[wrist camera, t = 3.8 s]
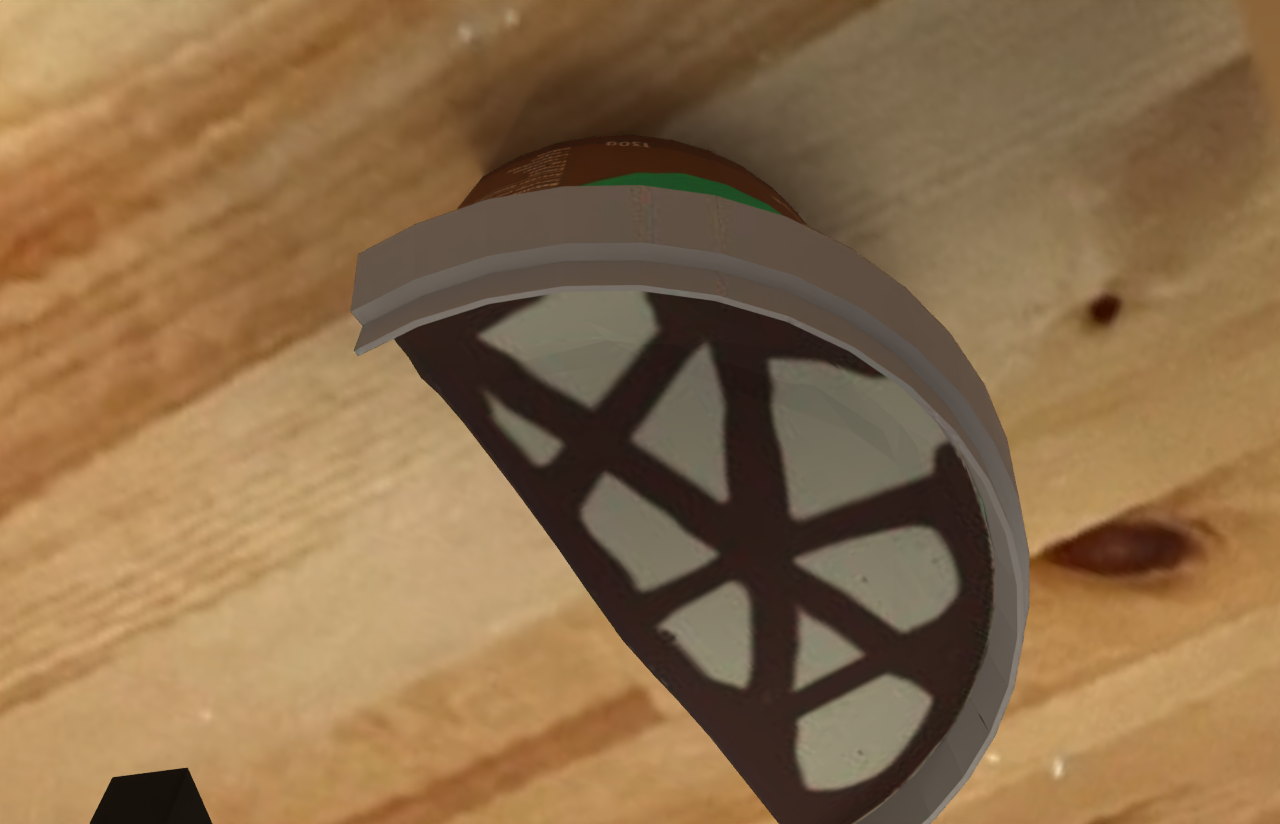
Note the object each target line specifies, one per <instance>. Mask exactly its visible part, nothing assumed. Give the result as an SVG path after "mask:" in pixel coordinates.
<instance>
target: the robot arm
mask: <svg viewBox="0 0 1280 824" xmlns="http://www.w3.org/2000/svg"><path fill="white" fill-rule="evenodd" d="M90 824H212V822H211V820H210V817H209V815H208V813H207V811H206V808H205V806H204V804H203V801H202V799H201V797H200V795H199V792H198V790H197V788H196V785H195V783H194V781H193V779H192V776H191V774H190V772H189V770H188V768H181V769H174V770H166V771H158V772H150V773H143V774H135V775H127V776H120V777H113V778H112V780H111V782H110V784H109V786H108V788H107V790H106V792H105V794H104V796H103V798H102V800H101V802H100V804H99V806H98V808H97V810H96V812H95V814H94V816H93V818H92V820H91V822H90Z"/></svg>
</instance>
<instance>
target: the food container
mask: <svg viewBox="0 0 1280 824" xmlns="http://www.w3.org/2000/svg"><path fill="white" fill-rule="evenodd" d="M351 313H352V314H353V315H354V316H355V318H356V319H357V320H358V321H359V322H360V323H361V325H362V329H361V332H360V335H359V338H358V341H357V343H356V346H355V349H354V352H355V353H356V354H357V355H358V356H359V355H362V354H364V353H366V352H368V351H370V350H372V349H374V348H376V347H378V346H380V345H382V344H384V343H386V342H388V341H390V340H392V339H395V341H396V342H397V344H398V345H399V346H400V347H401V349H402V350H403V351H404V352H405V353H406V355H407V356H408V357H409V359H410V360H411V362H412V364H413V365H414V367H415V369H416V370H417V372H418V374H419V375H420V377H421V378H422V379H423V380H424V381H425V382H426V383H427V384H428V385H430V386H431V387H432V388H433V389H434V390H435V391H436V392H437V393H438V394H439V395H440V396H441V397H442V398H443V399H444V400H445V402H446V403H447V404H448V405H449V406H450V407H451V409H452V410H453V411H454V412H455V413H456V414H457V416H458V417H459V418H460V419H461V420H462V421H463V423H464V424H465V425H466V426H467V428H468V429H469V430H470V432H471V433H472V434H473V436H474V437H475V438H476V439H477V441H478V442H479V443H480V445H481V446H482V447H483V449H484V450H485V451H486V452H487V454H488V455H489V456H490V458H491V459H492V460H493V462H494V463H495V464H496V465H497V467H498V468H499V469H500V471H501V472H502V473H503V475H504V476H505V477H506V478H507V480H508V481H509V482H510V484H511V485H512V486H513V488H514V489H515V490H516V492H517V493H518V494H519V496H520V497H521V498H522V500H523V501H524V503H525V504H526V505H527V507H528V508H529V509H530V511H531V512H532V513H533V515H534V516H535V518H536V519H537V520H538V522H539V523H540V524H541V526H542V527H543V528H544V530H545V531H546V532H547V534H548V535H549V537H550V538H551V539H552V541H553V542H554V543H555V545H556V546H557V548H558V549H559V550H560V552H561V553H562V555H563V556H564V558H565V559H566V561H567V562H568V564H569V565H570V566H571V568H572V569H573V571H574V572H575V574H576V575H577V577H578V578H579V580H580V581H581V582H582V584H583V585H584V587H585V588H586V590H587V591H588V592H589V594H590V595H591V597H592V598H593V599H594V601H595V602H596V604H597V605H598V606H599V608H600V609H601V611H602V612H603V613H604V615H605V616H606V618H607V619H608V620H609V622H610V623H611V625H612V626H613V627H614V629H615V630H616V632H617V633H618V634H619V636H620V637H621V639H622V640H623V641H624V642H625V643H626V645H627V646H628V647H629V648H630V649H631V650H632V651H633V652H634V654H635V655H636V656H637V657H638V658H639V659H640V660H641V661H642V662H643V664H644V665H645V666H646V667H647V668H648V669H649V670H650V671H651V673H652V674H653V675H654V676H655V677H656V678H657V679H658V680H659V681H660V682H661V683H662V684H663V685H664V686H665V687H666V688H667V689H668V691H669V692H670V693H671V694H672V695H673V696H674V697H675V698H676V699H677V700H678V701H679V702H680V703H681V705H682V706H683V707H684V708H685V709H686V710H687V711H688V713H689V714H690V715H691V716H692V717H693V718H694V719H695V720H696V722H697V723H698V724H699V725H700V726H701V727H702V728H703V730H704V731H705V732H706V733H707V734H708V735H709V736H710V737H711V739H712V740H713V741H714V742H715V744H716V745H717V746H718V747H719V749H720V750H721V751H722V753H723V754H724V755H725V756H726V758H727V759H728V760H729V761H730V763H731V764H732V765H733V766H734V768H735V769H736V770H737V771H738V773H739V774H740V775H741V776H742V778H743V779H744V780H745V781H746V783H747V784H748V785H749V786H750V788H751V789H752V790H753V792H754V793H755V794H756V795H757V797H758V798H759V799H760V800H761V802H762V803H763V804H764V805H765V807H766V808H767V809H768V810H769V812H770V813H771V814H772V815H773V817H774V818H775V819H776V821H777V822H778V823H779V824H930V823H931V822H933V821H934V820H935V819H936V818H937V816H938V815H939V814H940V813H941V812H942V810H943V809H944V808H945V807H946V806H947V805H948V803H949V802H950V801H951V800H952V799H953V798H954V796H955V795H956V794H957V793H958V792H959V790H960V789H961V788H962V787H963V786H964V785H965V783H966V782H967V781H968V780H969V778H970V777H971V775H972V773H973V772H974V770H975V768H976V767H977V765H978V764H979V762H980V760H981V759H982V757H983V755H984V754H985V752H986V750H987V749H988V747H989V745H990V744H991V742H992V741H993V739H994V737H995V735H996V733H997V730H998V728H999V725H1000V723H1001V720H1002V718H1003V715H1004V713H1005V710H1006V707H1007V705H1008V702H1009V700H1010V697H1011V695H1012V692H1013V690H1014V686H1015V681H1016V676H1017V670H1018V665H1019V660H1020V655H1021V650H1022V644H1023V639H1024V630H1025V625H1026V620H1027V615H1028V610H1029V549H1028V544H1027V538H1026V533H1025V528H1024V522H1023V517H1022V512H1021V506H1020V501H1019V496H1018V490H1017V485H1016V481H1015V476H1014V471H1013V466H1012V461H1011V456H1010V451H1009V446H1008V441H1007V437H1006V435H1005V432H1004V430H1003V428H1002V425H1001V423H1000V420H999V418H998V416H997V413H996V411H995V408H994V406H993V404H992V401H991V399H990V396H989V394H988V392H987V389H986V387H985V385H984V383H983V382H982V380H981V379H980V377H979V376H978V374H977V373H976V371H975V370H974V368H973V367H972V365H971V363H970V362H969V360H968V359H967V357H966V356H965V354H964V353H963V351H962V350H961V348H960V347H959V345H958V344H957V342H956V341H955V339H954V338H953V336H952V335H951V334H950V333H949V332H948V330H947V329H946V328H945V327H944V326H943V325H942V324H941V323H940V322H939V321H938V320H937V319H936V318H935V317H934V316H933V315H932V314H931V313H930V312H929V311H928V310H927V309H926V308H925V307H924V306H923V305H922V304H921V303H920V302H919V301H918V300H917V299H916V298H915V297H914V296H913V295H912V293H911V292H910V291H909V290H908V289H907V288H906V287H904V286H903V285H901V284H900V283H899V282H897V281H896V280H894V279H893V278H892V277H890V276H889V275H887V274H886V273H885V272H883V271H882V270H881V269H879V268H878V267H876V266H875V265H874V264H872V263H871V262H869V261H868V260H867V259H865V258H864V257H862V256H861V255H860V254H858V253H857V252H855V251H854V250H853V249H851V248H849V247H847V246H845V245H843V244H841V243H839V242H837V241H835V240H833V239H831V238H829V237H827V236H825V235H823V234H821V233H819V232H817V231H815V230H813V229H811V228H808V226H807V225H806V224H805V222H804V221H803V220H802V219H801V217H800V216H799V215H798V213H797V212H796V211H795V210H794V209H793V208H792V207H791V206H790V205H789V204H788V203H787V202H786V201H785V200H784V199H783V198H782V197H781V196H780V195H779V194H778V193H777V192H776V191H775V190H774V189H773V188H772V187H770V186H769V185H768V184H766V183H765V182H763V181H762V180H760V179H759V178H758V177H756V176H755V175H753V174H752V173H750V172H749V171H748V170H746V169H745V168H743V167H742V166H740V165H738V164H735V163H733V162H731V161H729V160H727V159H725V158H723V157H721V156H719V155H717V154H714V153H712V152H710V151H708V150H704V149H701V148H697V147H694V146H691V145H687V144H684V143H680V142H677V141H673V140H666V139H659V138H651V137H643V136H635V135H632V136H598V137H590V138H585V139H579V140H574V141H568V142H563V143H557V144H554V145H551V146H548V147H546V148H543V149H540V150H537V151H534V152H531V153H528V154H525V155H523V156H520V157H518V158H516V159H514V160H512V161H510V162H509V163H507V164H505V165H503V166H501V167H499V168H497V169H496V170H494V171H492V172H490V173H488V174H486V175H484V176H483V177H482V178H481V179H480V181H479V182H478V183H477V184H476V186H475V187H474V188H473V189H472V191H471V192H470V193H469V195H468V196H467V197H466V198H465V200H464V201H463V202H462V203H461V205H460V206H459V207H458V208H457V210H455V211H452V212H449V213H446V214H443V215H440V216H437V217H434V218H431V219H428V220H425V221H422V222H419V223H416V224H415V225H413V226H411V227H409V228H407V229H405V230H403V231H401V232H399V233H397V234H395V235H393V236H392V237H390V238H388V239H386V240H384V241H382V242H380V243H378V244H376V245H374V246H372V247H371V248H369V249H367V250H365V251H363V252H361V253H359V254H358V261H357V269H356V276H355V283H354V291H353V298H352V306H351Z"/></svg>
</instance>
